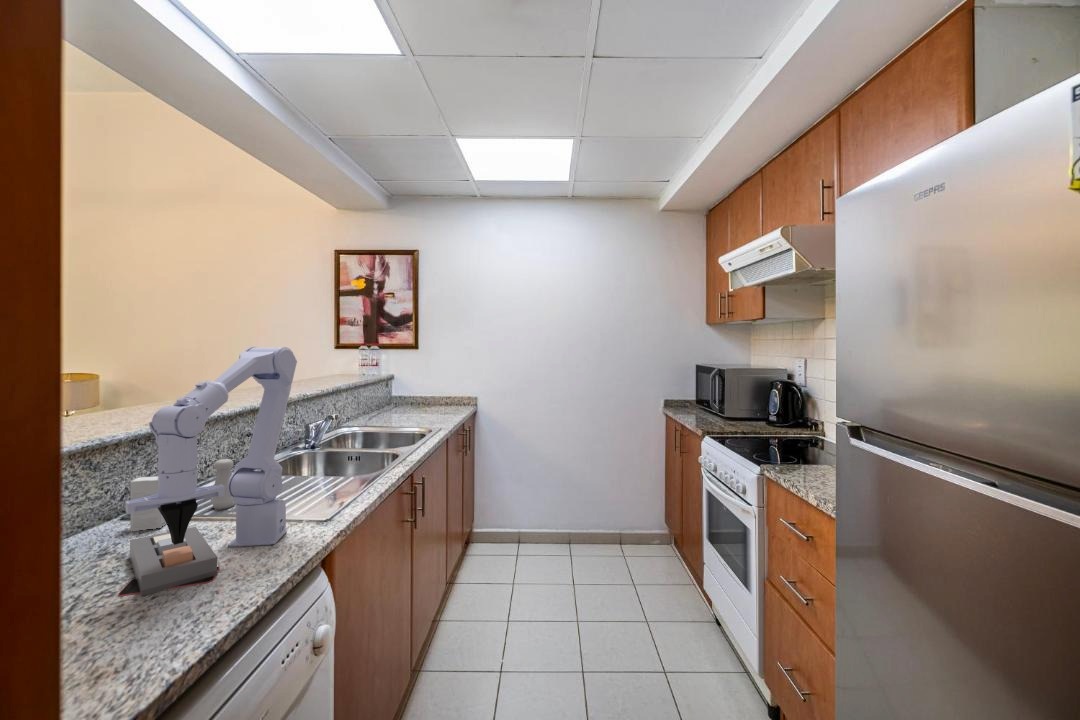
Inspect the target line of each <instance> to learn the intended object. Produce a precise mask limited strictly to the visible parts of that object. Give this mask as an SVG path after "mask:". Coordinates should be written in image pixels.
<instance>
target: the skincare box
mask: <svg viewBox="0 0 1080 720" xmlns="http://www.w3.org/2000/svg"><path fill="white" fill-rule="evenodd" d="M129 482H130V484H129V487H130V490H129V491H130V492H129V493H130V500H135V499H139V498H143V497H147V496H152V495H156V494H158V475H157V476H141V477H138V478H135V479H132V480H131V481H129ZM130 500H129V501H130ZM165 524H166V522H165V520H164V518H163V516H162V514H161V513H160V511H159V510H158V508H153V509H148V510H143V511H137V512H135V513H132V514H130V532H132V531H133V532H140V531H139V530H143V531H147V530H146V529H153V530H157V529H156V528H161V527H162V526H163V527H165V526H166V525H167V524H166V525H165ZM164 525H165V526H164ZM163 527H162V528H163ZM162 528H161V529H162Z"/></svg>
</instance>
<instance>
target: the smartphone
mask: <svg viewBox="0 0 1080 720" xmlns="http://www.w3.org/2000/svg"><path fill="white" fill-rule="evenodd" d="M220 570H221V568H220V566H217V575H218V573H219V572H220ZM216 577H217V576H216V575H215V576H211V577H208V578H204V579H200V580H197V581H193V582H190V583H186V584H182V585H179V586H175V587H171V588H168V589H166V590H171V589H178V588H179V589H180V588H185V587H192V586H197V585H205V584H210V583H212V582H213V581H215V579H216ZM166 590H165V591H166ZM132 595H133V596H134V595H141V594H140V590H139V586H138V583H137V579H136V577H134V578H133V579H131V580H130V581H129V582H128V583H127V584H126V585H124V587H123V588H122V589H121V590H120V591H119V592H118V594H117V597H121V598H122V597H125V596H127V597H128V596H132Z"/></svg>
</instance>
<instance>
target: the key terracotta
mask: <svg viewBox="0 0 1080 720" xmlns="http://www.w3.org/2000/svg"><path fill="white" fill-rule="evenodd" d="M192 560H193V551H192V549H191V548H190V546H189V545H188V546H183V547H179V548H175V549H170V550H166V551H162V565H163V567H168V566H172V565H176V564H180V563H184V562H188V561H192Z"/></svg>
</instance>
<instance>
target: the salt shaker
mask: <svg viewBox="0 0 1080 720" xmlns="http://www.w3.org/2000/svg"><path fill="white" fill-rule="evenodd" d="M213 465H214V470H217V471H216V474H215V475H216V476H215V480H214V485H213V486H216V485H223V486H224V496H222V497H211V498H210V502H211V504H212V506H213V508H214V510H226V509H230V508H231V507H234V505H235V502H233V497H231V496H230V495H229V494H228V491H227V483H228V480H229V478H230V476H231V475H232V474H233V471H232V468H233V467H234V460H232V459H231V458H223V459H218V460H216V461H215V462H214V464H213Z"/></svg>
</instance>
